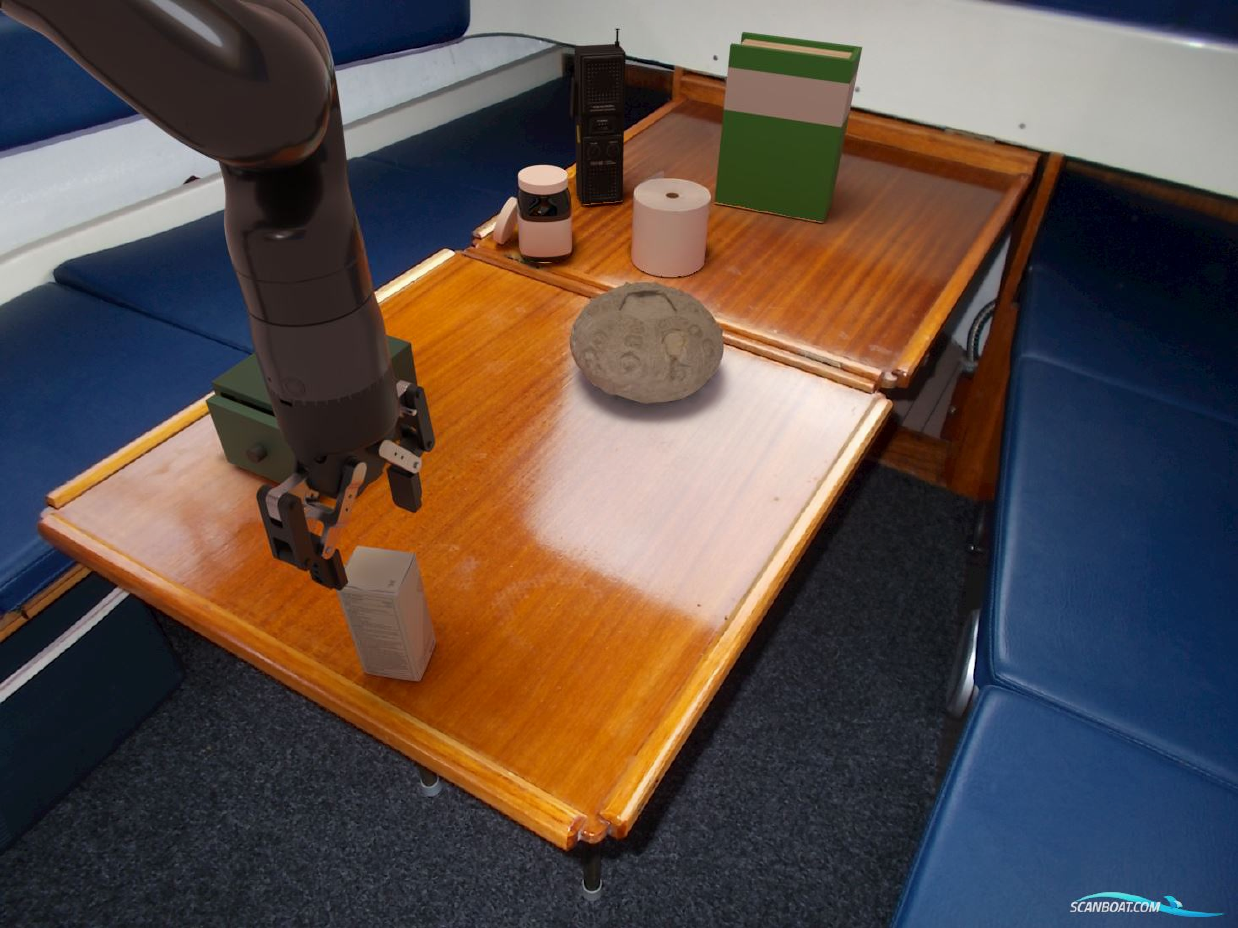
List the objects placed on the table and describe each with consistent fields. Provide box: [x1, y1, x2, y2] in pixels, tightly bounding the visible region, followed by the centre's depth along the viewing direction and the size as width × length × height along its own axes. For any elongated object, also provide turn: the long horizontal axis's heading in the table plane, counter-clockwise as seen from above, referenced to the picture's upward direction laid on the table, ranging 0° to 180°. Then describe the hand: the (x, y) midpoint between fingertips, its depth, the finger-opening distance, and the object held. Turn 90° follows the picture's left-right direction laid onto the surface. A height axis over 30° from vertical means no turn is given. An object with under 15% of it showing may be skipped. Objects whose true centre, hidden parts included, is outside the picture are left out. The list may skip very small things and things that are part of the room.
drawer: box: [205, 393, 322, 497], centre depth 88 cm, size 15×12×8 cm
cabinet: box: [210, 334, 419, 443], centre depth 90 cm, size 15×13×10 cm
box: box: [335, 545, 437, 683], centre depth 68 cm, size 5×4×11 cm
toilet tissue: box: [630, 169, 712, 278], centre depth 121 cm, size 11×12×10 cm
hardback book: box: [713, 31, 863, 222], centre depth 131 cm, size 18×7×24 cm, turn 69°
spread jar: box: [492, 164, 573, 263], centre depth 122 cm, size 12×11×12 cm
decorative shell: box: [569, 280, 725, 405], centre depth 99 cm, size 18×18×10 cm
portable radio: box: [569, 28, 627, 204], centre depth 131 cm, size 8×6×25 cm
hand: (372, 543), depth 63 cm, fingers open, 8 cm apart
